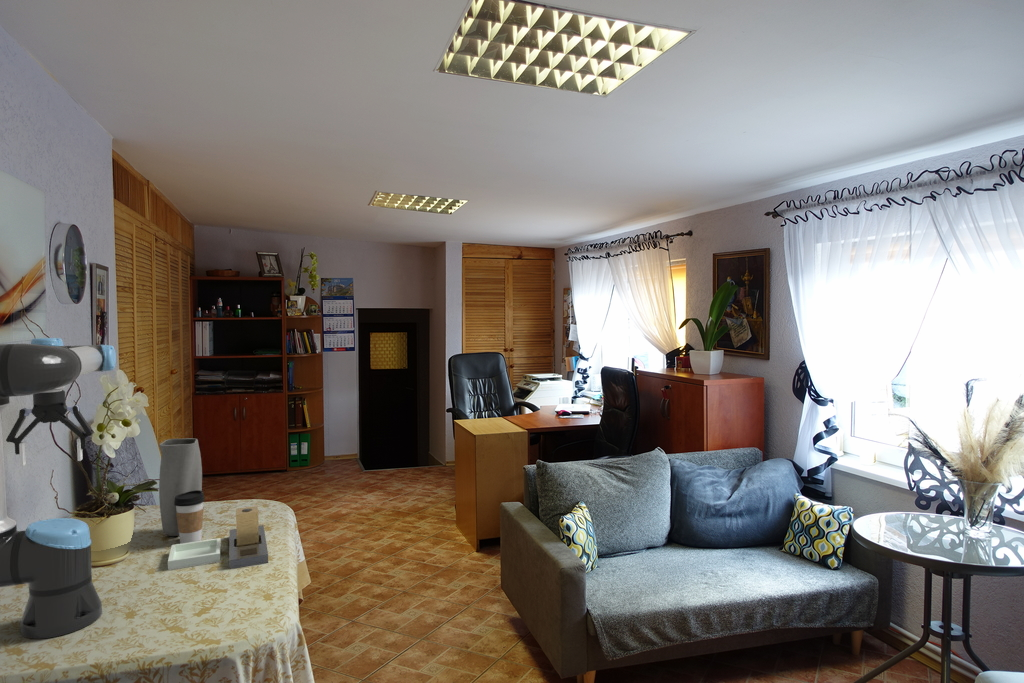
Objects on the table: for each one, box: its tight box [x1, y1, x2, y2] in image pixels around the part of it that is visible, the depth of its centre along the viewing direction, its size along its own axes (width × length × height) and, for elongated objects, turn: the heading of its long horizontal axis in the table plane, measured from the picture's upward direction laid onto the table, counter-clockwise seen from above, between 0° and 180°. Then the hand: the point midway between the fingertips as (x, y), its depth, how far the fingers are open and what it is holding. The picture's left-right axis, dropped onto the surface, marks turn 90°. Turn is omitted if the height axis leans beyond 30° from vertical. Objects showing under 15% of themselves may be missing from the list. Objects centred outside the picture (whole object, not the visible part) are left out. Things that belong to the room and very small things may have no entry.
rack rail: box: [228, 524, 269, 570], centre depth 182 cm, size 26×10×3 cm, turn 25°
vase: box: [158, 437, 203, 537], centre depth 195 cm, size 12×12×30 cm
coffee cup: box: [174, 490, 205, 544], centre depth 188 cm, size 8×8×15 cm
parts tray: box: [167, 537, 222, 571], centre depth 176 cm, size 13×13×2 cm
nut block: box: [235, 505, 260, 547], centre depth 182 cm, size 6×6×12 cm
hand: (52, 462), depth 177 cm, fingers open, 13 cm apart
